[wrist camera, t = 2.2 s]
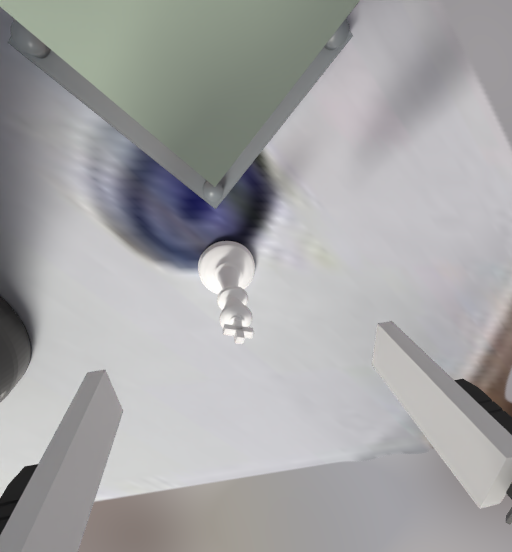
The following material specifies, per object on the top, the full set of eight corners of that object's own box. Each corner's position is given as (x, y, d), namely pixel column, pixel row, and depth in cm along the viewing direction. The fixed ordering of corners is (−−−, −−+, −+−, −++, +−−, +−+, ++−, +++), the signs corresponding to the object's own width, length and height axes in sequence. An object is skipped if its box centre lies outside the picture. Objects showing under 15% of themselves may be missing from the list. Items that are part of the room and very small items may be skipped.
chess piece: (204, 234, 22) (204, 294, 13) (261, 247, 24) (295, 309, 15) (192, 287, 24) (185, 370, 15) (246, 296, 25) (268, 378, 16)
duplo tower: (214, 205, 21) (223, 255, 12) (21, 49, 16) (-266, -100, 6) (344, 42, 18) (500, -74, 9) (160, -226, 13) (15, -1422, 3)
